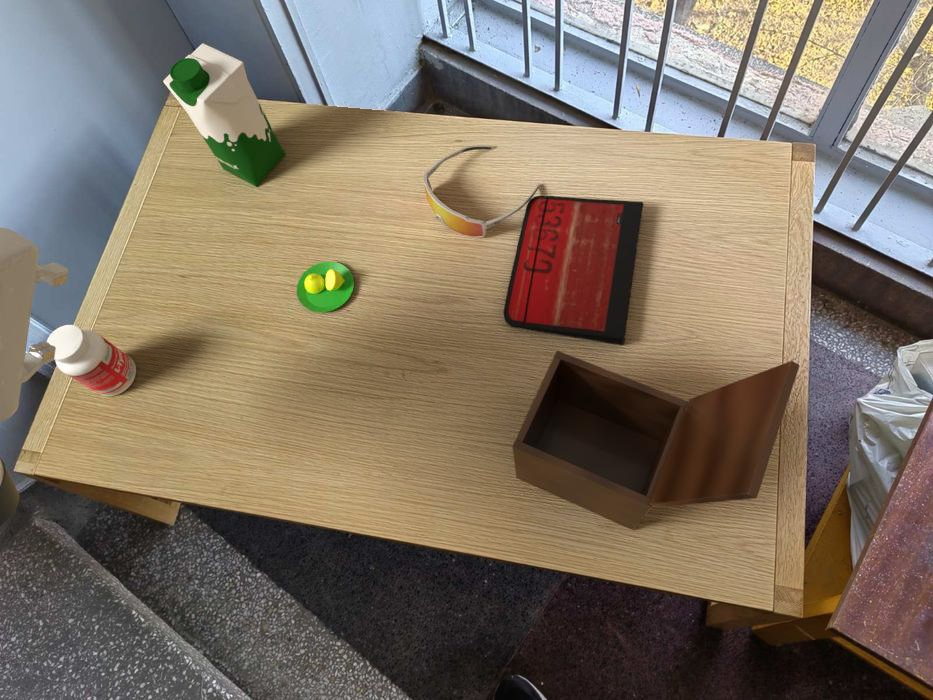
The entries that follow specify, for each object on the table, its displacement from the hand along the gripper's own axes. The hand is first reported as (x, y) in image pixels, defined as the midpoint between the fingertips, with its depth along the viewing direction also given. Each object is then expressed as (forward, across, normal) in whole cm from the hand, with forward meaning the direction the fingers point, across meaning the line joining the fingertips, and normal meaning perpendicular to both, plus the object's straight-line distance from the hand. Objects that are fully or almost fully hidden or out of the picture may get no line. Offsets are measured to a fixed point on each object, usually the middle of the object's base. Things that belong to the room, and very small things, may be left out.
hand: (56, 312), depth 69 cm
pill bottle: (+16, -18, +4) cm, 24 cm away
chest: (+22, +3, -56) cm, 60 cm away
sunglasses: (+45, +19, -26) cm, 55 cm away
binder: (+39, +18, -43) cm, 61 cm away
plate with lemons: (+31, +2, -14) cm, 34 cm away
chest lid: (+6, +20, -62) cm, 65 cm away
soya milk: (+43, +8, +8) cm, 45 cm away
